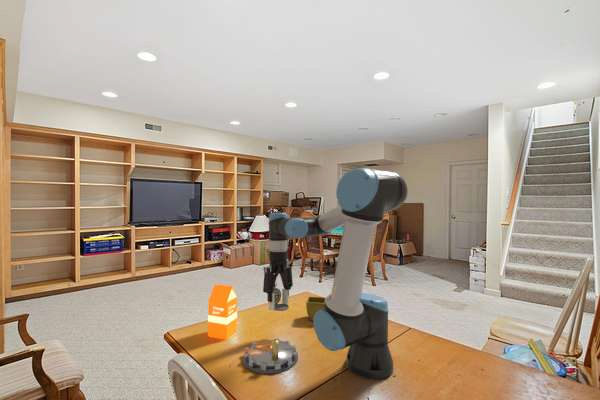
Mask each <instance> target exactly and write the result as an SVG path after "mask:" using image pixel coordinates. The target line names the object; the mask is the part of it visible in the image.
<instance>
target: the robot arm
mask: <svg viewBox="0 0 600 400" xmlns="http://www.w3.org/2000/svg"><path fill="white" fill-rule="evenodd" d="M408 189H409V188H408V184H407V183H406V181H405V179H404V178H403V177H402V176H401V175H400V174H398V173H397V172H393V171H389V170H383V169H382V170H379V169H373V168H366V167H362V168H360V167H359V168H358V167H357V168H353V169H350V170H348V171H347V172H346V173H344V174H343V175H342V176H341V177H340V179H339V182H338V184H337V186H336V195H335V196H336V199H337V203H338V205H337V206H335V207H333V208H331V209H329V210H327V211H326V212H323V213H321V214H320V215H317V216H315V217H314V216H313V217H288V213H286V212H270V213H269V215H268V217H269V218H268V249H269V251H268V260H269V265H268V266H264V267H263V272H264V274H263V275H264V276H263V287H262V288H263V289H262V292H263V293H265V294H267V296H266V297H267V300H266V301H267V302H268V310H270V311H273V312H274V311H276V310H275V294H274V293H273V290H274V286H275V285H276V283H277V282H276V281H277V277H279V276H280V280H281V284H282V286H283V288H281V290H282V291H281V299H282V301H281V304H287V305H288V306H289V296H290V290H292V288H293V285H294V284H293V283H294V282H293V272H292V270H293V269H292V267H293V264H292V262H288V261H287V260H288V257H289V256H288V253H289V252H288V238H291V239H302V238H306V237H317V236H319V237H320V236H321V237H323V236H328V235H330V234H331V233H332V232H333V231H334V230H337V229H339V228H342V227H343V231H342V235H341V236H342V237H341V241H340V246H339V252H338V258H337V262H336V268H335V274H334V279H333V284H332V289H331V293H330V294H329V295H327V296H325V298H326V299H325V303H324V308H323V310H319V311H318V312H316V314H315V315H314V319H313V321H312V322H313V330H314V333H315V335H316V337H317V339H318V341H319V343H320V344H321V345H322V347H324V348H325V349H326V350H329V351H330V352H336V351H340V350H344V349H345V348H348V351H347V353H346V366H347V369H348V370H349V371H350V372H352V373H353V374H355V375H356V376H358V377H361V378H365V379H371V380H381V379H386V378H388V377H390V376H391V375H392V374H393V372H394V360H393V357H392V354H391V350H390V347H389V334H388V333H389V312H390V311H389V305H388V302H387V300H386V299H385V298H383V297H381V296H379V295H376V294H373V293H372V294H371V293H364V292H363V288H364V284H365V278H366V274H367V269H368V264H369V260H370V254H371V250H372V246H373V240H374V236H375V230H376V226H377V225H379V224H381V223H382V222H383V220H384V216H385V213H387V212H390V211H394V210H398V209H399V208H400V207H401V206H403V204H405V202H406V200H407V198H408V192H409V191H408ZM275 282H276V283H275Z"/></svg>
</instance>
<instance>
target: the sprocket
mask: <svg viewBox="0 0 600 400" xmlns="http://www.w3.org/2000/svg"><path fill="white" fill-rule="evenodd" d="M290 343H291V341H288V340H284V341H283V340H280V339H279V338H274V339H268V338H263V339H262V340H261V341H258V342H257V341H253V342H252V343H251V345H250V347H248V346H246V347H245V349H244V354H243V356H244V360H245V361H249V366H251V367H252V368H253V367H254V366H256V367H259V368H260V370H266V369H271V368H274V369H275V370H278V369H280V368H281V367H282V366H284V365H287V366H289V365H290V364H292V359H296V357H297V354H298V352H297V347H296V346H295V345H292V344H290Z"/></svg>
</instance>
